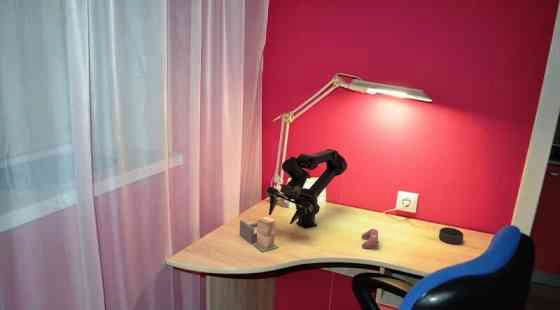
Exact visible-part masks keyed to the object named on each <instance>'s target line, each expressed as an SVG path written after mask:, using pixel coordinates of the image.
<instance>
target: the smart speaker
mask: <svg viewBox="0 0 560 310" xmlns="http://www.w3.org/2000/svg"><path fill="white" fill-rule="evenodd" d="M438 233H439V234H438V238H439V239H440V240H441V242H444V243H447V244H450V245H460V244H462V243H463V241H464V232H462V231H461V230H460V229H457V228H454V227H449V226H448V227H447V226H445V227H441V228H440V229H439V232H438Z"/></svg>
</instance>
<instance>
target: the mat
mask: <svg viewBox="0 0 560 310" xmlns="http://www.w3.org/2000/svg"><path fill="white" fill-rule="evenodd" d="M251 245H252V246H253V247H254V248H256V249H257V250H258V251H259V252H261V253H265V252H268V251H272V250H276V249H279V246H278V245H276V243H274V245H273V246H271V247H269V248H267V249H264V248H262V247H260V246H257V242H256V243H252V244H251Z"/></svg>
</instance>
